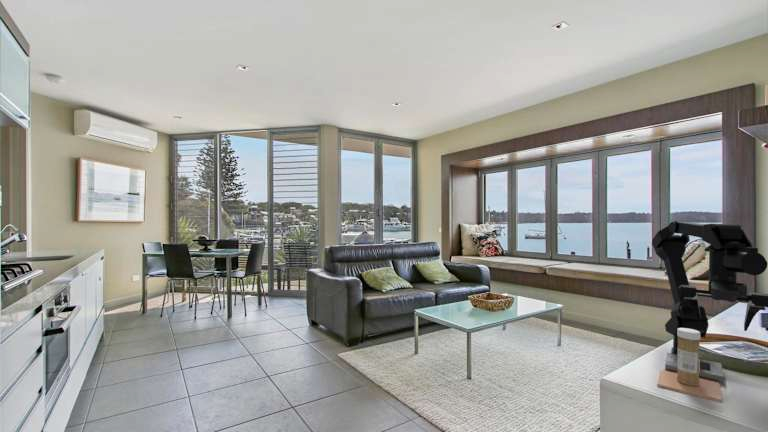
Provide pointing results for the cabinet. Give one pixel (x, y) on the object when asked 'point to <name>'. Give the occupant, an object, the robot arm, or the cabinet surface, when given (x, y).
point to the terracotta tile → (703, 390)
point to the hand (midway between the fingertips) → (721, 327)
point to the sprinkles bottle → (688, 356)
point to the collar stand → (713, 367)
